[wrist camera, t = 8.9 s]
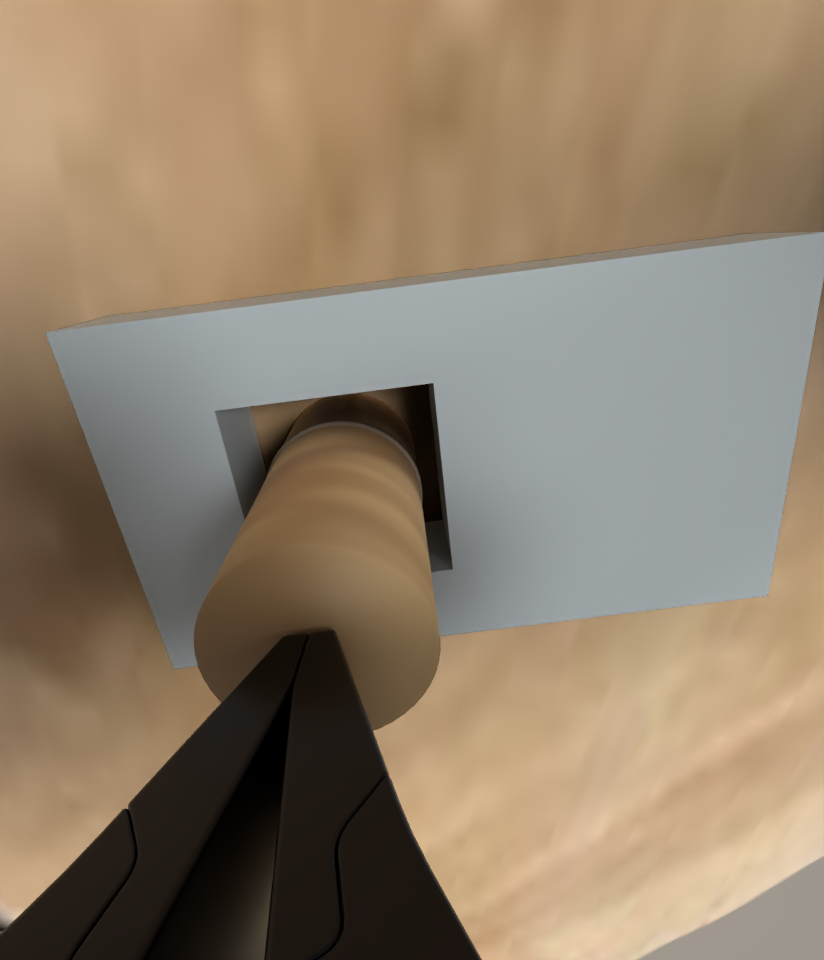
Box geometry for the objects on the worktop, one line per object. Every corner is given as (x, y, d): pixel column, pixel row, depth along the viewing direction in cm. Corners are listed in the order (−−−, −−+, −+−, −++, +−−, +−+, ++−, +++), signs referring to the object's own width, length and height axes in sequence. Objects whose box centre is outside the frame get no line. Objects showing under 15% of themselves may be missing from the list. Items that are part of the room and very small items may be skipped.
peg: (407, 383, 16) (430, 525, 8) (423, 505, 18) (454, 727, 10) (272, 400, 16) (156, 560, 8) (299, 520, 18) (226, 755, 10)
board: (750, 233, 15) (832, 230, 12) (713, 544, 19) (768, 595, 16) (107, 316, 15) (45, 332, 12) (204, 608, 19) (173, 668, 16)
